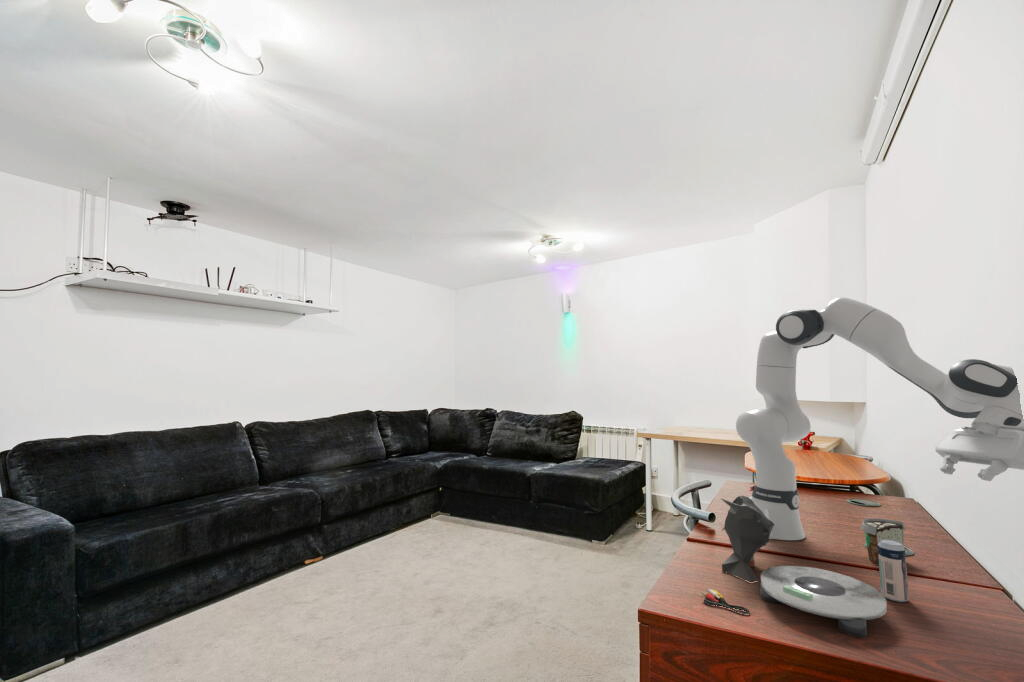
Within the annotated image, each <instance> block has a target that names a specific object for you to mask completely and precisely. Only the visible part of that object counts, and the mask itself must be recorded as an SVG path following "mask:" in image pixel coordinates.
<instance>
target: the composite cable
mask: <svg viewBox="0 0 1024 682" xmlns="http://www.w3.org/2000/svg"><path fill="white" fill-rule="evenodd" d="M705 591H706V592H704V591H701V592H700V593H701V594H702V595H703V597H704V599H703V603H704V604H705V603H706V604H705V605H708V604H709V606H711V605H715V606H716V605H717V606H723V607H726V608H730V609H732V610H734V611H736V612H739V613H742V614H751V611H750V610H749V609H748V608H746V607H743V606H742V605H741V606H740V605H736V604H735V605H734V604H729V603H728V602H727V601H726V600H725V598H724V597H723V595H722V594H721V593H719V592H718V591H717V590H716V589H710V588H709V589H708V588H707V587H706V588H705ZM715 606H714V607H715ZM733 608H735V609H739V610H744V611H746V612H742V611H738V610H735V609H733Z"/></svg>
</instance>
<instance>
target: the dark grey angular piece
mask: <svg viewBox="0 0 1024 682" xmlns="http://www.w3.org/2000/svg"><path fill="white" fill-rule="evenodd" d="M721 500H722V501H723V502H724V503H725V504H727V506H729V507H730V508H729V509H728V511H727V515H726V516H725V521H724V527H723V529H721V531H725V533H726V535H727V536H728V539H729V541H730V545H731V547H732V551H733V553H731V554H730V556H728V557H727V559H726V560H725V561H723V562H722V563H721V571H722V572H723V571H724V573H725V572H727V573H730V574H732V575H735V576H738V577H740V578H742V579H744V580H747V581H749V582H754V581H759V579H758V578H757V575H755V573H754V570H753V569H752V567H750V566H754V565H756V563H755V562H756V561H755V554H756V553H757V552H759V551H760V549H762V548H763V547H765V546H766V545H767V544H768V542H769V540H770V539H769V536H770V534H771V531H772V528H773V526H774V524H773V522H772V521H770V520H769V519H768V518H767V517H766V516H765V515H764V514H763V512H762V511H761V510H760V509H759V508H758V507H757V506H756V505H755V504H754V502H753V501H752V500H751V499H750V498H749V497H748V496H746V495H745V496H744V495H738V496H737V497H736V498H735V499H734V500H732V501H729V500H726V499H724V498H721ZM754 567H755V566H754ZM727 573H726V574H727ZM730 574H729V575H730ZM732 575H731V576H732Z"/></svg>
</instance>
